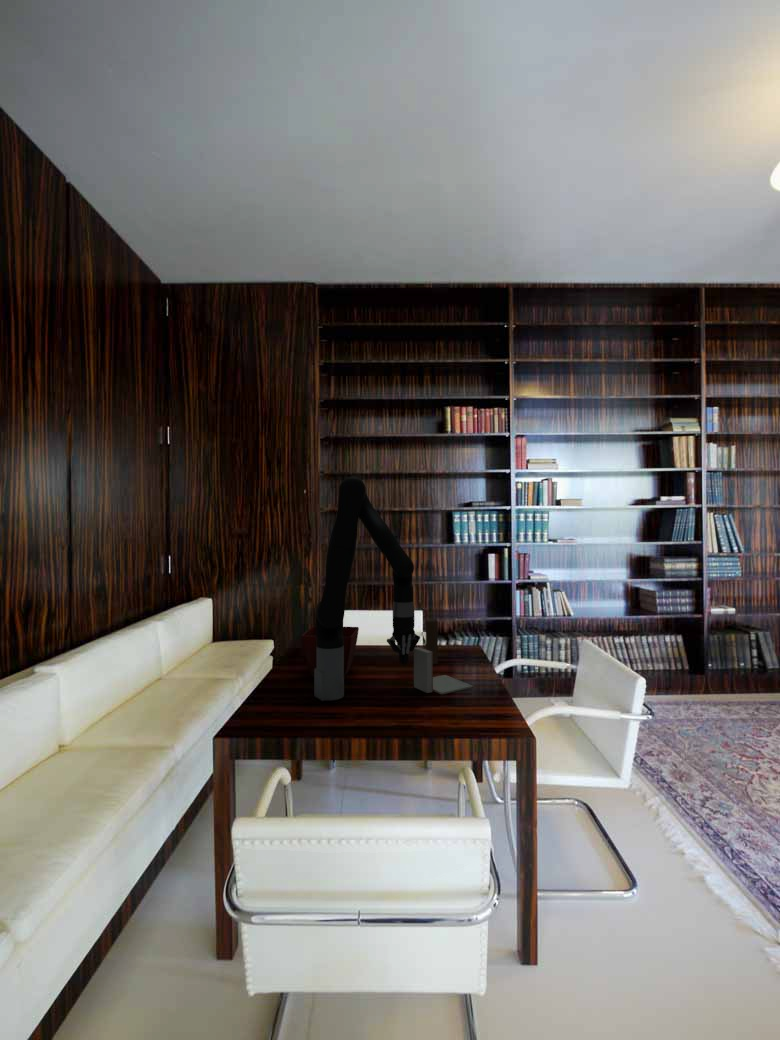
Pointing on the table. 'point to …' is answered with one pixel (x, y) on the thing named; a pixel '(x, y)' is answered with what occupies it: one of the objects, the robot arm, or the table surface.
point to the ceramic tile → (423, 669)
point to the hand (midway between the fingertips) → (403, 664)
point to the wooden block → (432, 638)
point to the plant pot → (311, 648)
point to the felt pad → (448, 684)
